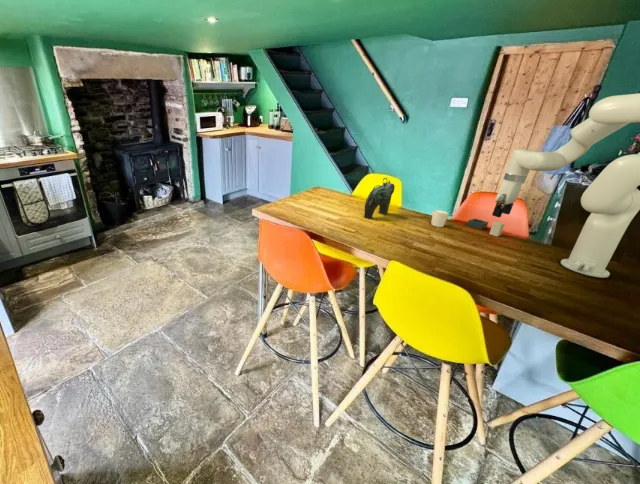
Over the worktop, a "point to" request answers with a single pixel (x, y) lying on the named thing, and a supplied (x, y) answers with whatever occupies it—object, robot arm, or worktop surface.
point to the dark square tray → (477, 224)
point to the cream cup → (439, 218)
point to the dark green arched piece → (379, 199)
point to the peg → (496, 228)
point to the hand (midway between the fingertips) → (500, 214)
